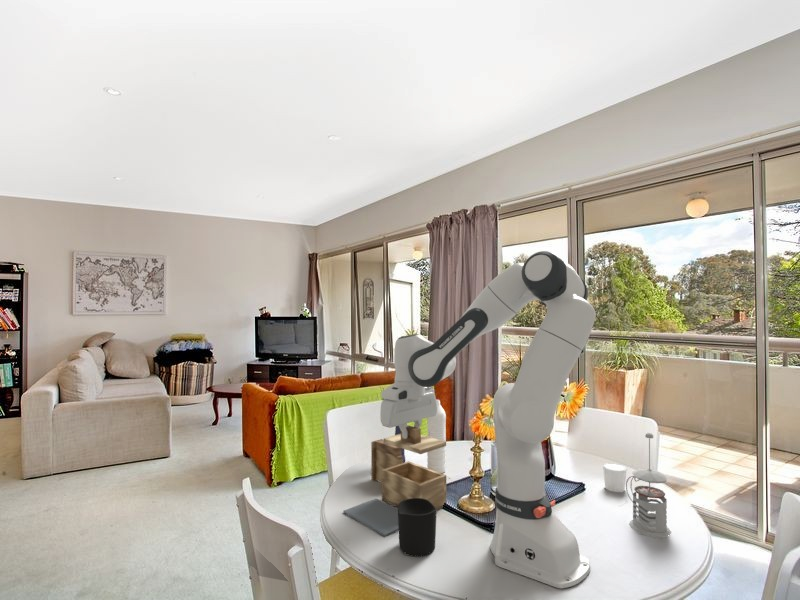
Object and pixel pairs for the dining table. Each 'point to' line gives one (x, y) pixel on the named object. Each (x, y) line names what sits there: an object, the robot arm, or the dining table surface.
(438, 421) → the water bottle
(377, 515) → the mat
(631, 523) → the french press
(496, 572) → the dining table surface
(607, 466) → the white cup
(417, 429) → the lid
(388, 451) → the key
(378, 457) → the rail
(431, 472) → the wooden open box
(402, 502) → the pen holder
